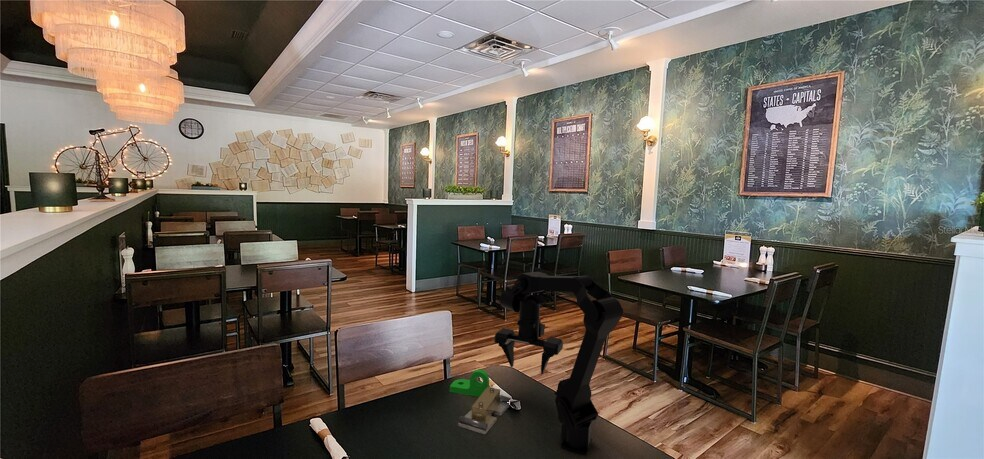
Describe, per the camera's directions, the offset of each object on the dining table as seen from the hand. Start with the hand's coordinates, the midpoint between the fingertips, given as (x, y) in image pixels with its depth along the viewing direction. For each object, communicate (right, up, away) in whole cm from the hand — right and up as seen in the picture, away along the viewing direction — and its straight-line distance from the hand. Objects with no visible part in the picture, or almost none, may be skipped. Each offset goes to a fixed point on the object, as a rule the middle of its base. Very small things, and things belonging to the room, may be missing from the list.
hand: (527, 370), depth 117 cm
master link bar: (-12, -11, -2) cm, 16 cm away
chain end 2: (-10, -12, +3) cm, 15 cm away
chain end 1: (-14, -12, -6) cm, 20 cm away
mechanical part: (-17, -11, +12) cm, 23 cm away
